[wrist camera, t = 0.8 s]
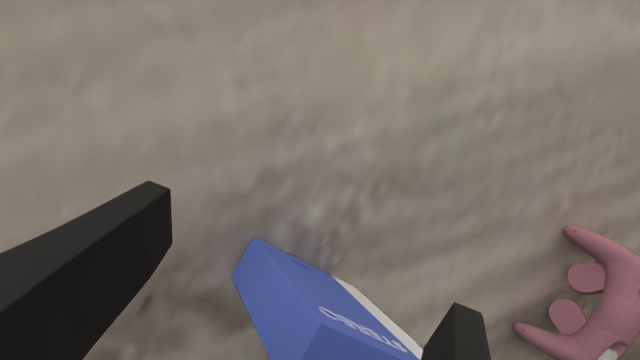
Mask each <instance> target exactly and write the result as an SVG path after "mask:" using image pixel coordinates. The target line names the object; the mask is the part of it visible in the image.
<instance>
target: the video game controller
mask: <svg viewBox="0 0 640 360" xmlns="http://www.w3.org/2000/svg"><path fill="white" fill-rule="evenodd" d="M563 233H564V234H565V236H566V237H567V238H568V239H569V240H570V241H571V242H572V243H573V244H575V245H576V246H577V247H579V248H580V249H581V250H583V251H584V252H585V253H587V254H589V255H590V256H592V257H594V258H595V259H596V261H595V262H594V263H578V264H575V265H573V266H572V267H571V268H570V270H569V272H568V281H569V283H570V285H571V286H572V287H573V288H574V289H575V290H576V291H577V292H579V293H582V294H597V293H602V295H601V298H600V300H599V302H598V304H597V306H596V308H595V310H594V311H593V313H592V315H591V316H590V318H589V319H588V320H587V319H586V317H585V315H584V313H583V311H582V310H581V309H580V307H579V306H578V305H577V304H576V303H574V302H573V301H571V300H568V299H559V300H556V301H555V302H554V303H552V305H551V306H550V308H549V316H550V318H551V320H552V322H553V323H554V324H555V326H556V327H557V328H558V330H559V331H560V334H557V333H551V332H548V331H546V330H543V329H541V328H538V327H536V326H533V325H529V324H526V323H522V322H515V323H514V324H513V329H514V330H515V332H516V333H517V334H518V335H519V336H520V337H521V338H522V339H524V340H525V341H526V342H528V343H529V344H531V345H532V346H534V347H535V348H537V349H539V350H540V351H542V352H543V353H545V354H547V355H548V356H550V357H552V358H554V359H556V360H617V359H618V358H619V357H620V356H622V355H623V354H624V353H625V352H626V351H627V350H628V349H629V348H630V347H631V345H632V344H633V343H634V341H635V340H636V338H637V337H638V335H639V334H640V257H639V256H638V255H636V254H635V253H633V252H632V251H630V250H629V249H627V248H626V247H624V246H622V245H621V244H619V243H617V242H615V241H613V240H611V239H608V238H606V237H604V236H601V235H599V234H597V233H594V232H592V231H590V230H587V229H584V228H582V227H577V226H566V227H564V229H563Z"/></svg>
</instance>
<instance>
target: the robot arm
mask: <svg viewBox="0 0 640 360" xmlns="http://www.w3.org/2000/svg"><path fill="white" fill-rule="evenodd" d="M171 245H172V220H171V196H170V189H169V188H166V187H164V186H161V185H159V184H156V183H154V182H151V181H149V180H148V181H146V182H144V183H142V184H140V185H138V186H136V187H135V188H133V189H131V190H129V191H127V192H125V193H123V194H121V195H119V196H118V197H116V198H114V199H112V200H110V201H108V202H106V203H104V204H102V205H101V206H99V207H97V208H95V209H93V210H91V211H89V212H87V213H85V214H83V215H81V216H79V217H77V218H75V219H73V220H71V221H69V222H67V223H65V224H63V225H61V226H59V227H57V228H55V229H53V230H51V231H49V232H47V233H45V234H43V235H40V236H38V237H36V238H34V239H32V240H30V241H27V242H25V243H23V244H21V245H19V246H16V247H14V248H12V249H10V250H7V251H5V252H3V253H0V360H82V359H83V358H84V357H85V356H86V354H87V353H88V352H89V350H90V349H91V348H92V347H93V345H94V344H95V343H96V342H97V341H98V340H99V338H100V337H101V336H102V335H103V334H104V332H105V331H106V330H107V329H108V328H109V326H110V325H111V324H112V323H113V322H114V320H115V319H116V318H117V317H118V316H119V315H120V313H121V312H122V311H123V310H124V309H125V307H126V306H127V305H128V304H129V303H130V301H131V300H132V299H133V298H134V297H135V295H136V294H137V293H138V292H139V291H140V289H141V288H142V287H143V286H144V284H145V283H146V282H147V281H148V280H149V278H150V277H151V276H152V274H153V273H154V271H155V270H156V268H157V267H158V265H159V264H160V262H161V260H162V259H163V257H164V256H165V254H166V253H167V251H168V249H169V248H170V246H171ZM421 360H491V357H490V353H489V348H488V342H487V337H486V331H485V325H484V319H483V316H482V314H481V313H480V312H478V311H475V310H473V309H470V308H468V307H465V306H463V305H460V304H458V303H455V302H454V303H453V305H452V306H451V308H450V309H449V311H448V312H447V314H446V315H445V317H444V318H443V320H442V321H441V323H440V324H439V326H438V327H437V329H436V330H435V332H434V333H433V335H432V336H431V338H430V339H429V341H428V342H427V344H426V345H425V347H424V349H423V353H422V357H421Z"/></svg>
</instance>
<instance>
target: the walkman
mask: <svg viewBox="0 0 640 360" xmlns="http://www.w3.org/2000/svg"><path fill="white" fill-rule="evenodd" d="M231 277H232V279H233V281H234V283H235V285H236V287H237V290H238V292H239V294H240V296H241V298H242V300H243V302H244V304H245V307H246V309H247V311H248V313H249V315H250V317H251V319H252V321H253V324H254V326H255V328H256V330H257V332H258V334H259V336H260V338H261V341H262V343H263V345H264V347H265V349H266V351H267V353H268V356H269V358H270V360H421V357H422V353H423V349H421V348H420V347H419V346H418V345H417V343H416V342H415V341H414V340H413V339H411V338H410V337H409V336H408V335H407V334H406V333H405V332H404V331H403V330H401V329H400V328H399V327H398V326H397V325H396V324H395V323H394V322H393V321H391V320H390V319H389V318H388V317H387V316H386V315H385V314H384V313H383V312H382V311H380V310H379V309H378V308H377V307H376V306H375V305H374V304H373V303H372V302H370V301H369V300H368V299H367V298H366V297H365V296H364V295H363V294H362V293H360V292H359V291H358V290H357V289H356V288H355V287H353V286H351V285H349V284H347V283H346V282H344V281H342V280H340V279H338V278H336V277H334V276H332V275H330V274H328V273H326V272H324V271H322V270H320V269H318V268H316V267H314V266H312V265H310V264H308V263H306V262H304V261H302V260H300V259H298V258H296V257H294V256H292V255H290V254H288V253H286V252H284V251H282V250H280V249H278V248H276V247H274V246H272V245H270V244H268V243H266V242H264V241H262V240H260V239H258V238H256V237H254V238H253V239H252V241H251V243H250V245H249V246H248V248H247V250H246V252H245V253H244V255H243V257H242V259H241V260H240V262H239V264H238V265H237V267H236V269H235V271H234V272H233V274H232V276H231Z"/></svg>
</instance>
